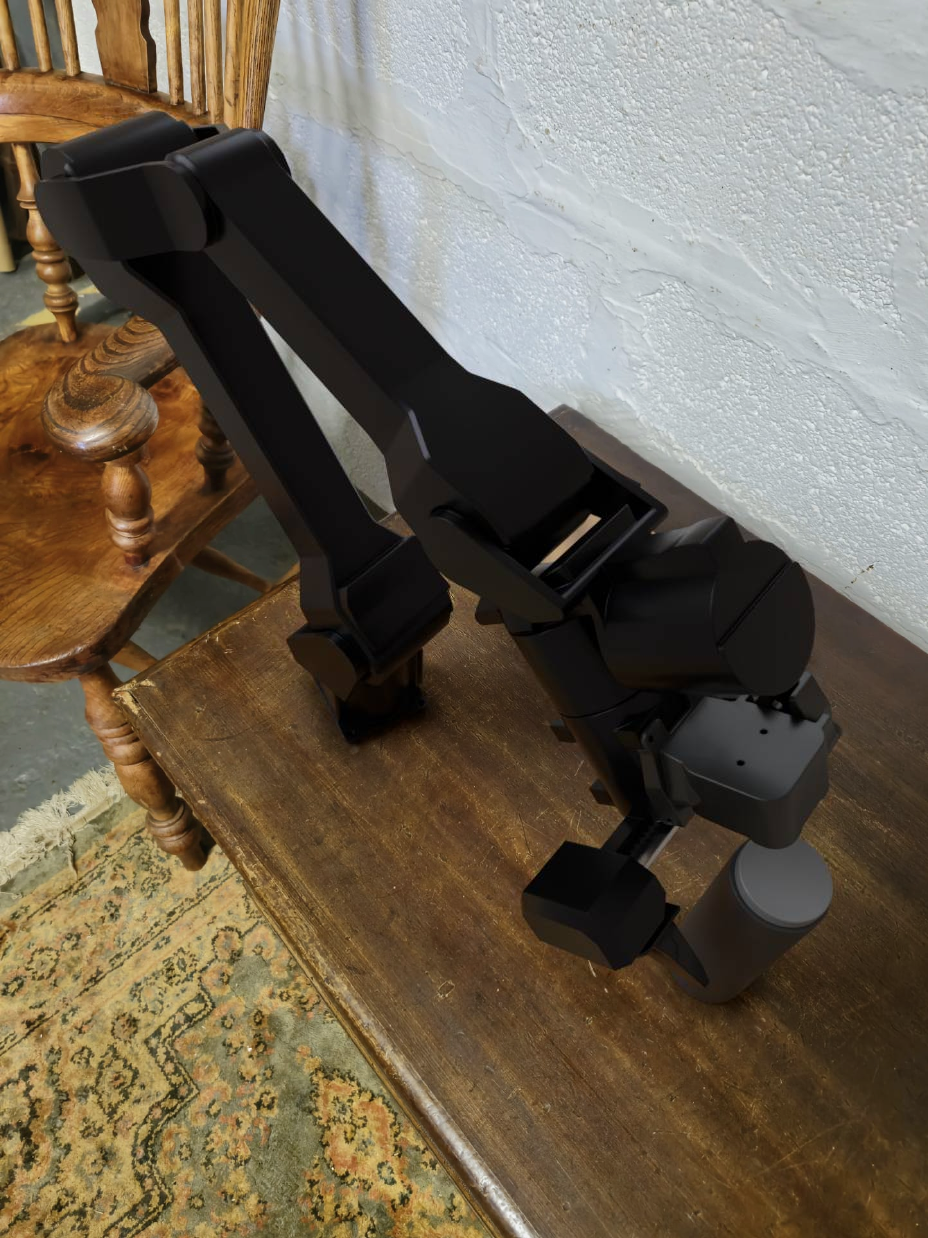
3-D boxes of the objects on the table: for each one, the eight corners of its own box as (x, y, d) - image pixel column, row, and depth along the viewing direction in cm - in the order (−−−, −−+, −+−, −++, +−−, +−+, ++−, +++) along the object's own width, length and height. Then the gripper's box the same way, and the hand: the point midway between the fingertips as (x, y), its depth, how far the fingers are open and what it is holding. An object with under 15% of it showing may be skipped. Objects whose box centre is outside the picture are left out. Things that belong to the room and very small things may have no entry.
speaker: (700, 1019, 49) (781, 946, 38) (650, 944, 51) (713, 854, 40) (763, 978, 50) (860, 896, 39) (712, 907, 53) (789, 811, 42)
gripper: (618, 850, 29) (800, 1140, 33) (855, 550, 38) (973, 810, 42) (441, 808, 38) (603, 1039, 42) (665, 574, 47) (779, 786, 51)
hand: (746, 913), depth 44 cm, fingers open, 9 cm apart
